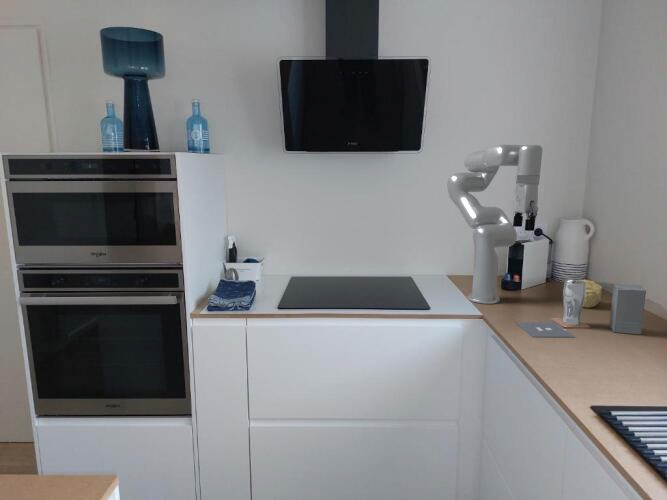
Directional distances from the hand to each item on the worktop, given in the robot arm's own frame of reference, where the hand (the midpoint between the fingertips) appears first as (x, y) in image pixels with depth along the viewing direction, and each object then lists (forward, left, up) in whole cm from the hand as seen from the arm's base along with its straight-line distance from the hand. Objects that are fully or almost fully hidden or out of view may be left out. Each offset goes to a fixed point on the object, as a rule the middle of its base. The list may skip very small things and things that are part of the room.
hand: (523, 228), depth 163 cm
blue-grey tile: (+15, +4, -33) cm, 36 cm away
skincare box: (+16, +31, -33) cm, 48 cm away
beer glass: (+10, +16, -33) cm, 37 cm away
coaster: (+9, +16, -33) cm, 37 cm away
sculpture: (-13, +33, -33) cm, 48 cm away
